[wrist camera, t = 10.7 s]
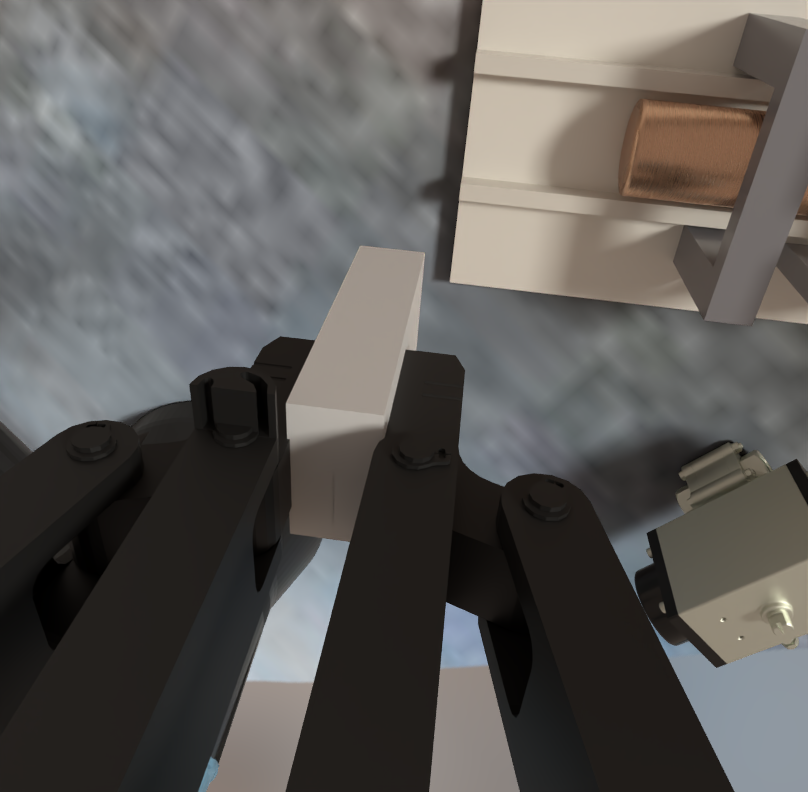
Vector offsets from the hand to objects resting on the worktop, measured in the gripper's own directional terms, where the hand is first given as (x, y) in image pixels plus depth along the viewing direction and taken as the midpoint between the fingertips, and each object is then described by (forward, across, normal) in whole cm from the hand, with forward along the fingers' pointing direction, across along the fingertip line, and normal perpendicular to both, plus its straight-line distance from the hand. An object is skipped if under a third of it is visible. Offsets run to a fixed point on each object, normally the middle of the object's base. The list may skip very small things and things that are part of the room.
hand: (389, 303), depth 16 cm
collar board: (+20, +14, 0) cm, 25 cm away
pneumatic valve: (+21, +19, -19) cm, 34 cm away
